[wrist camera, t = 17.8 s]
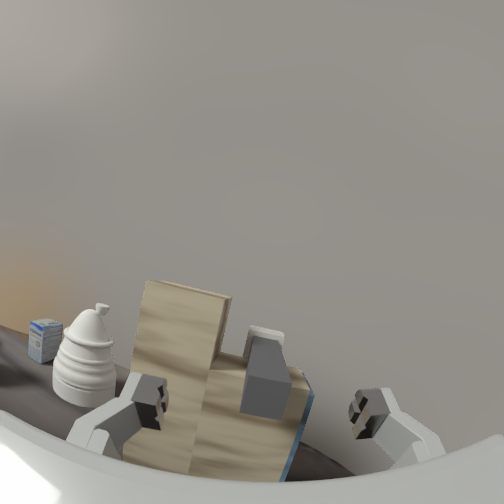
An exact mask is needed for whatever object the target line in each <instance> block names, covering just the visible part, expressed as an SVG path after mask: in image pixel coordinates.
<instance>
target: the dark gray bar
mask: <svg viewBox="0 0 504 504" xmlns="http://www.w3.org/2000/svg"><path fill="white" fill-rule="evenodd" d="M284 338H285V337H284V334H283V333H282V332H281V331H275V330H271V329H266V328H261V327H257V326H252V325H250V328H249V332H248V336H247V340H246V345H245V349H244V354H243V357H244V358H248V363H247V369H246V375H245V381H244V387H243V393H242V399H241V405H240V411H239V413H243V414H248V415H253V416H258V417H264V418H270V419H275V420H282V416H283V413H284V410H285V406H286V403H287V400H288V396H289V393H290V389H291V386H292V382H291V379H290V376H289V373H288V369H287V366H286V363H285V360H284V357H283V354H282V351H281V350H282V346H283V341H284Z"/></svg>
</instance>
